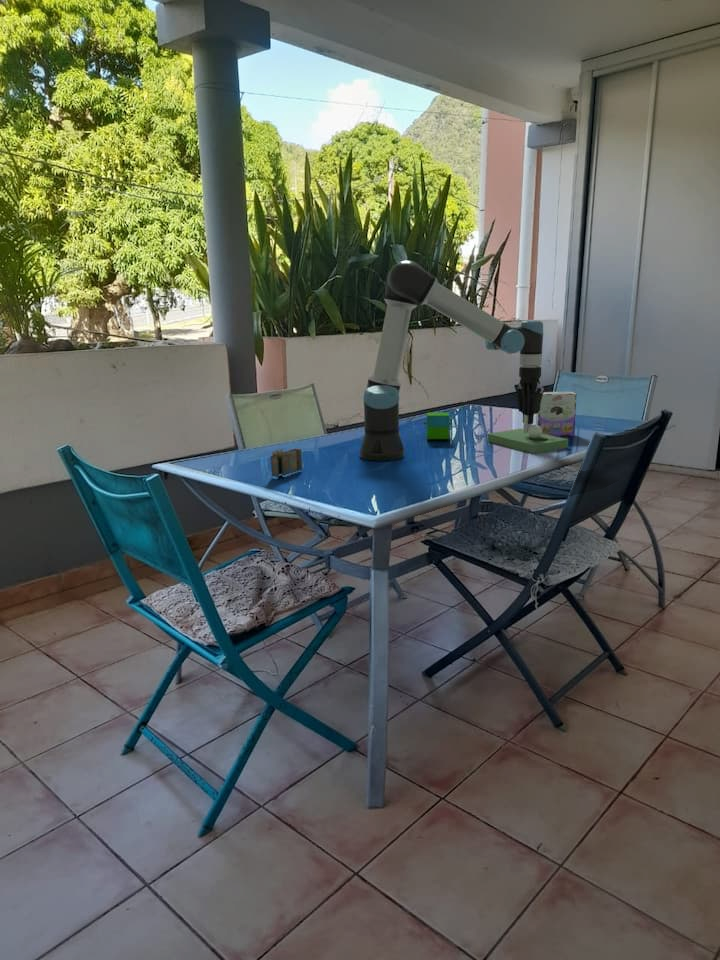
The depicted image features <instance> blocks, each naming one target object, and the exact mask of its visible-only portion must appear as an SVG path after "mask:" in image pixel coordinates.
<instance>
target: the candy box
mask: <svg viewBox="0 0 720 960" xmlns="http://www.w3.org/2000/svg"><path fill="white" fill-rule="evenodd" d="M576 407H577V393H576V392H574V391H544V393H543V395H542V399H541V404H540V408H539V412H538V413H537V414H535V425H538V426H540V427H541V428H542V434H546V435H551V436H555V437H574V436H575V429H576V428H575V427H576V412H577V411H576V410H577V408H576Z"/></svg>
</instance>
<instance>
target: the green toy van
mask: <svg viewBox="0 0 720 960" xmlns="http://www.w3.org/2000/svg"><path fill="white" fill-rule="evenodd" d="M424 425H425V426H426V440H427V441H428V442H429V441H430V442H431V440H445V441H447V442H448V441H449V439H450V426H451V425H452V422H450V413H449V412H426V422H424Z"/></svg>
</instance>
